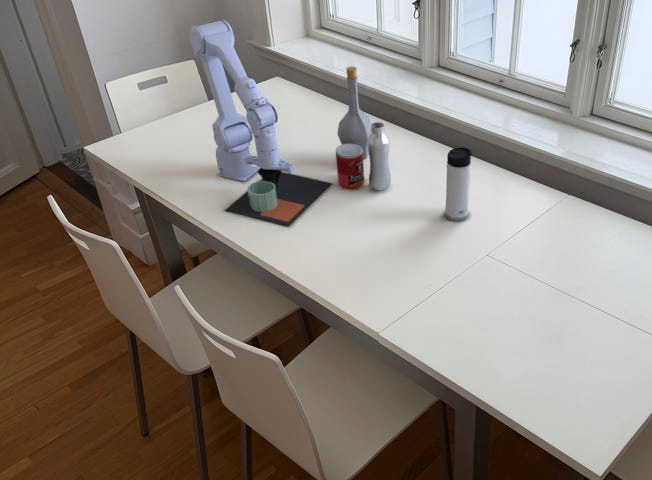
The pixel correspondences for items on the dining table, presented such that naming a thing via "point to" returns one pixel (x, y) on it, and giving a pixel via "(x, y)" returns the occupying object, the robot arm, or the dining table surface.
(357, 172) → the canned food
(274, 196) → the cup
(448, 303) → the dining table surface
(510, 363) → the dining table surface
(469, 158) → the travel mug
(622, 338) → the dining table surface
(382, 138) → the silver smooth rounded piece
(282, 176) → the mat
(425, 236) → the dining table surface
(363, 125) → the bottle
